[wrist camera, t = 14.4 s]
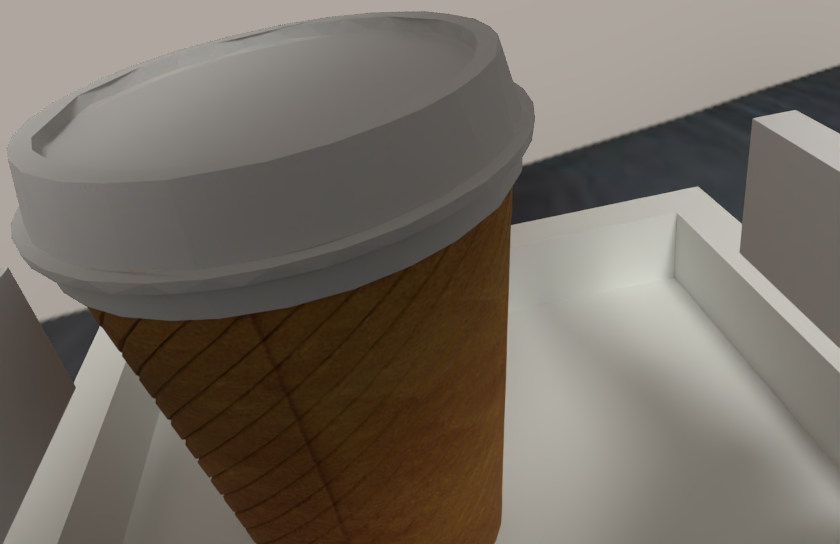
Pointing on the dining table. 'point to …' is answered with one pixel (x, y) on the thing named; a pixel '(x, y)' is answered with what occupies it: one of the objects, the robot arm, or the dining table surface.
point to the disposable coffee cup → (303, 262)
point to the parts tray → (548, 404)
